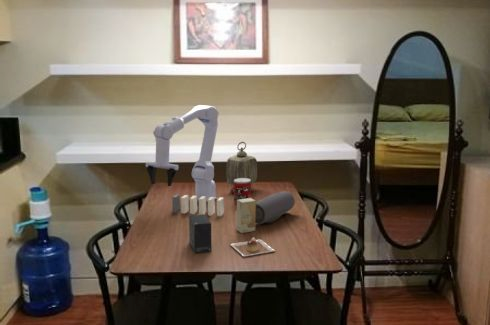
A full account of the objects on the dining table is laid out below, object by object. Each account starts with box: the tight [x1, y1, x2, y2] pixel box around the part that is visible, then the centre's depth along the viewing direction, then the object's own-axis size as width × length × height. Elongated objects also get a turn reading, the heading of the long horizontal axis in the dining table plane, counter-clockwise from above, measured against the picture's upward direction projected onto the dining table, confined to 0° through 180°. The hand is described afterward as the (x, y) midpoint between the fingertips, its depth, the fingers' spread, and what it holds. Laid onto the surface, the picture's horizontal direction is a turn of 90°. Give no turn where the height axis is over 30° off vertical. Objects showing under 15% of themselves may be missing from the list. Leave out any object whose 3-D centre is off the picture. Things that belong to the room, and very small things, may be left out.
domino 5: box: [207, 197, 216, 217], centre depth 204 cm, size 2×4×7 cm, turn 166°
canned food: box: [233, 178, 252, 206], centre depth 219 cm, size 8×8×11 cm
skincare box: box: [236, 197, 257, 234], centre depth 184 cm, size 6×4×12 cm
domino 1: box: [171, 194, 181, 214], centre depth 208 cm, size 2×4×7 cm, turn 166°
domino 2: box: [180, 194, 190, 214], centre depth 207 cm, size 2×4×7 cm, turn 166°
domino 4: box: [198, 196, 207, 215], centre depth 205 cm, size 2×4×7 cm, turn 166°
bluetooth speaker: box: [255, 190, 296, 225], centre depth 197 cm, size 23×9×10 cm, turn 145°
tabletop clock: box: [225, 141, 258, 194], centre depth 238 cm, size 14×9×25 cm, turn 144°
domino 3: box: [189, 195, 198, 215], centre depth 206 cm, size 2×4×7 cm, turn 166°
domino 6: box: [216, 197, 225, 217], centre depth 203 cm, size 2×4×7 cm, turn 166°
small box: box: [188, 213, 213, 254], centre depth 168 cm, size 11×6×10 cm, turn 17°
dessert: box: [229, 237, 276, 258], centre depth 167 cm, size 12×12×5 cm
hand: (161, 184), depth 207 cm, fingers open, 7 cm apart
